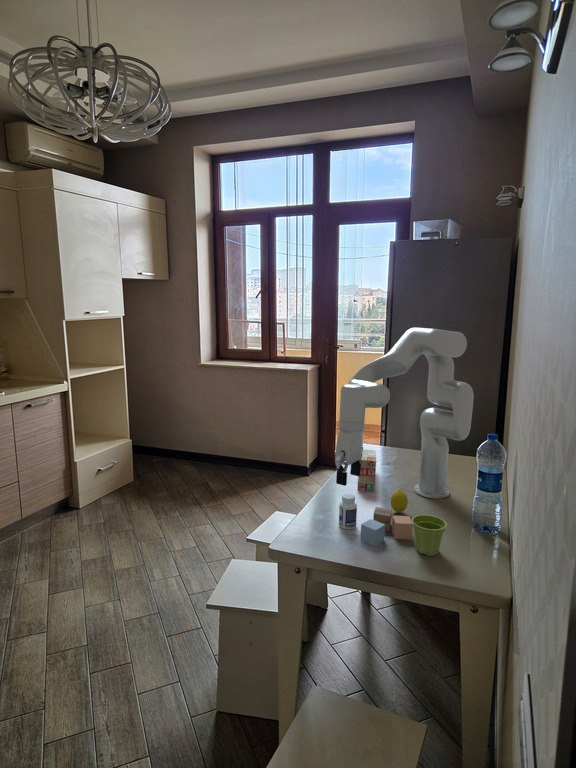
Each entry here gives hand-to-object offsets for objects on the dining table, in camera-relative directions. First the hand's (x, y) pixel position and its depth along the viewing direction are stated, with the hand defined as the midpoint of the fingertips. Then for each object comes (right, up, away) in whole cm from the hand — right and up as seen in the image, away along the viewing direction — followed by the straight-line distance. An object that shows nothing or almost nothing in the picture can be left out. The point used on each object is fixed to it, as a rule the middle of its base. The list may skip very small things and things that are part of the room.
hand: (348, 479), depth 144 cm
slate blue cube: (+6, -17, -6) cm, 19 cm away
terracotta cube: (+16, -16, -2) cm, 23 cm away
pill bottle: (0, -15, +3) cm, 15 cm away
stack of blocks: (+12, -9, +40) cm, 43 cm away
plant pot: (+21, -18, -11) cm, 30 cm away
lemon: (+18, -14, +13) cm, 26 cm away
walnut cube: (+11, -15, +3) cm, 19 cm away
